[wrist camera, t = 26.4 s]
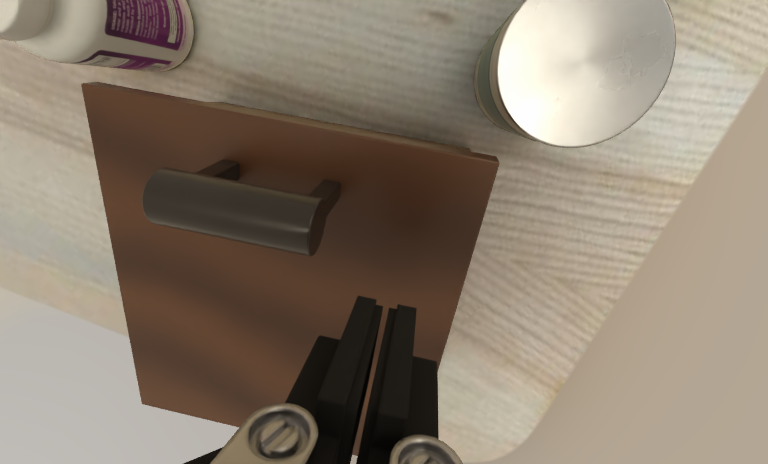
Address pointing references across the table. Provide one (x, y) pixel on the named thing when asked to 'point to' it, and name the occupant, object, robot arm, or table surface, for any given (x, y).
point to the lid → (271, 241)
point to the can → (576, 68)
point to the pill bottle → (101, 31)
